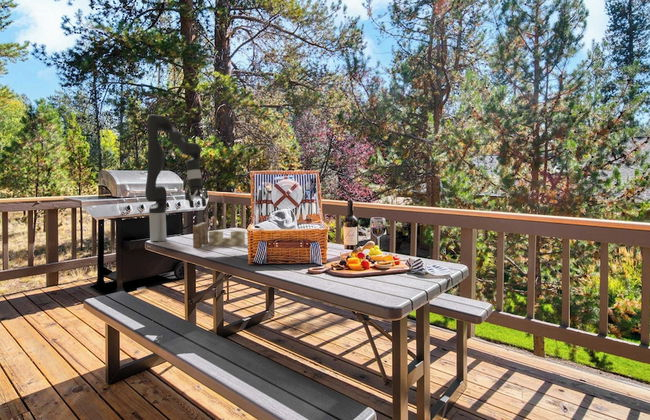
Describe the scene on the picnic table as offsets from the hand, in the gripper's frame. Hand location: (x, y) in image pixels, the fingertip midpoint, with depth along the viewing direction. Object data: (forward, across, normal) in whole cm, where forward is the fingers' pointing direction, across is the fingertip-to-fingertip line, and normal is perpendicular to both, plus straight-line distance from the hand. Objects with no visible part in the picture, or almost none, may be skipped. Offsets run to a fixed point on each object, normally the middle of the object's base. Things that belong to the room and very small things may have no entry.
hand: (198, 207), depth 236 cm
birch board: (+24, -11, +8) cm, 27 cm away
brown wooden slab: (+22, -3, -5) cm, 22 cm away
